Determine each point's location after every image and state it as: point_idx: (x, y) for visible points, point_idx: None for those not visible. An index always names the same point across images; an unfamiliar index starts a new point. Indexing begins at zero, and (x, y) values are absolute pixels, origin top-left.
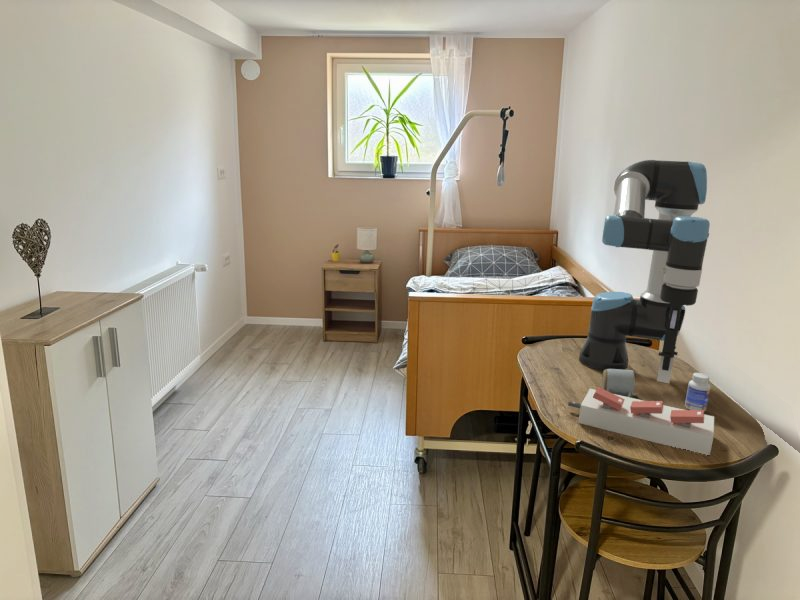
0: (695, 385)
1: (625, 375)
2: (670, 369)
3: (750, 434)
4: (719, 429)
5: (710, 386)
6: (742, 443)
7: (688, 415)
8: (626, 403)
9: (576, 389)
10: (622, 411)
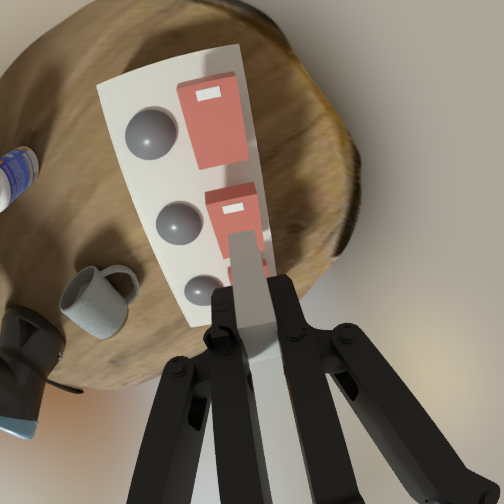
0: (4, 193)
1: (91, 312)
2: (263, 273)
3: (54, 37)
4: (74, 84)
5: None
6: (108, 24)
7: (233, 117)
8: (201, 263)
9: (148, 329)
10: None
